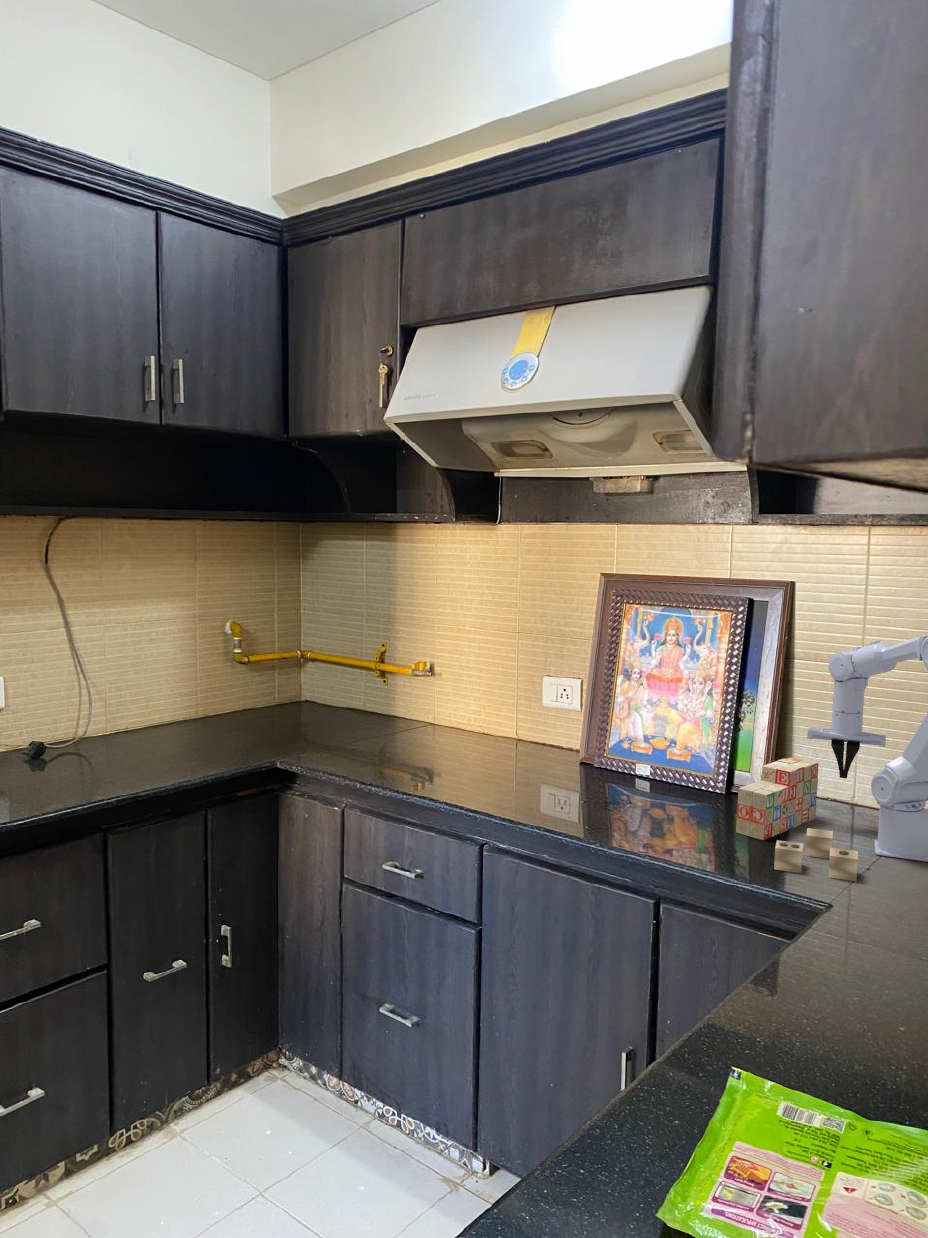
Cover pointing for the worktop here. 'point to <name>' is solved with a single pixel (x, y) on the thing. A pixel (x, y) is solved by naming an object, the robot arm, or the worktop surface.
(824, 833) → the plain maple block
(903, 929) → the worktop surface
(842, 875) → the one-dot maple block
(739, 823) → the stack of blocks
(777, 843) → the two-dot maple block
